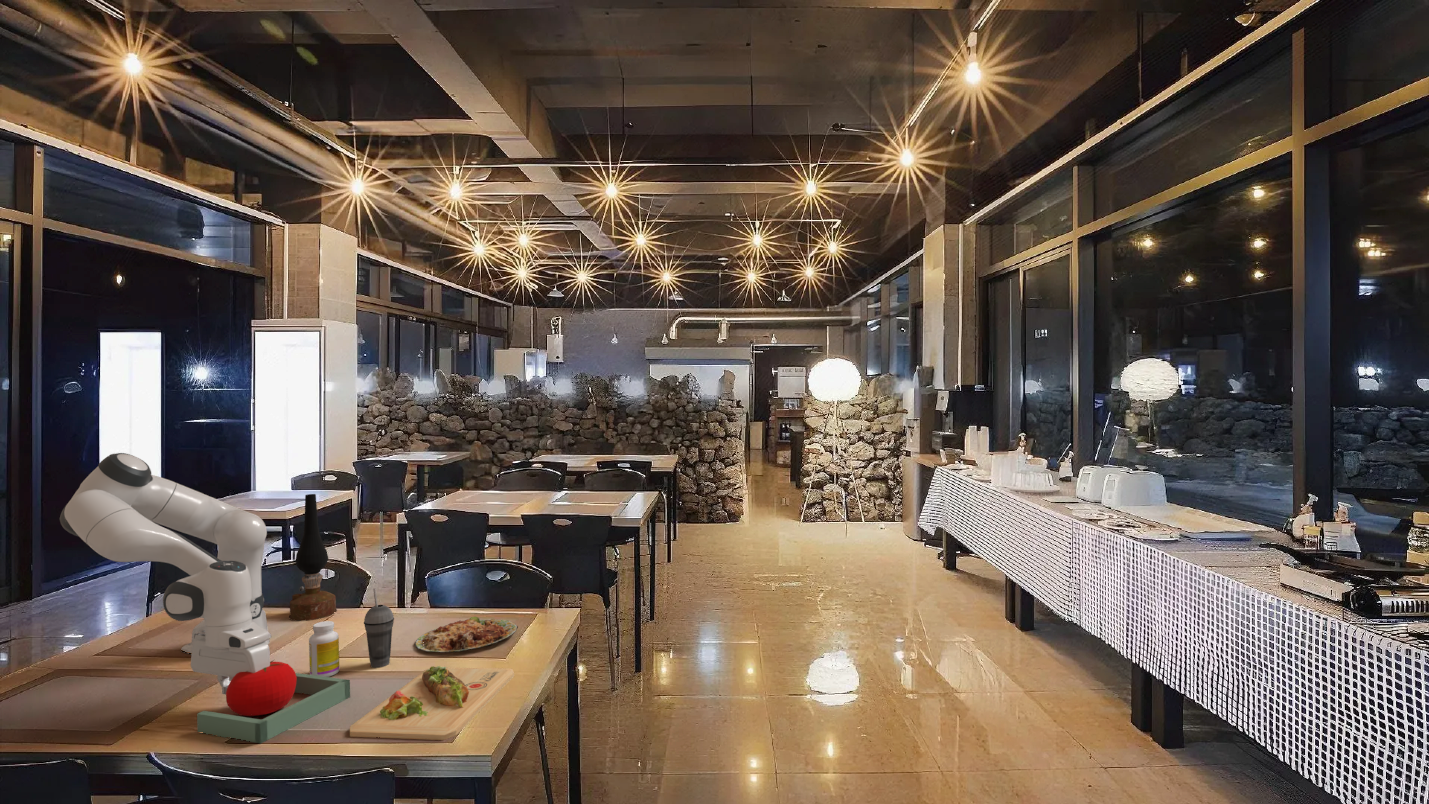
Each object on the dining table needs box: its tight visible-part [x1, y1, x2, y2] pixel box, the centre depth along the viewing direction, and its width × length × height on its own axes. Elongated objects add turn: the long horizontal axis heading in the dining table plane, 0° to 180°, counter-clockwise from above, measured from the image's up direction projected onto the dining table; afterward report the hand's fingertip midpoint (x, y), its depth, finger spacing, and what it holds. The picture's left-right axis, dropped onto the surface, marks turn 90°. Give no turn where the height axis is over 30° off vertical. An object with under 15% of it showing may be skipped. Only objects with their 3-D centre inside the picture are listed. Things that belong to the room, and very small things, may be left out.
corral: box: [196, 672, 351, 744], centre depth 157 cm, size 18×23×4 cm
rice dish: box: [414, 616, 518, 653], centre depth 205 cm, size 28×28×5 cm
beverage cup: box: [363, 588, 395, 669], centre depth 186 cm, size 7×7×20 cm
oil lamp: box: [288, 493, 338, 621], centre depth 233 cm, size 14×15×40 cm
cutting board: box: [349, 665, 515, 741], centre depth 162 cm, size 35×23×8 cm
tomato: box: [225, 659, 297, 717], centre depth 159 cm, size 14×13×10 cm
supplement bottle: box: [308, 620, 340, 677], centre depth 180 cm, size 7×7×13 cm
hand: (230, 694), depth 161 cm, fingers closed
